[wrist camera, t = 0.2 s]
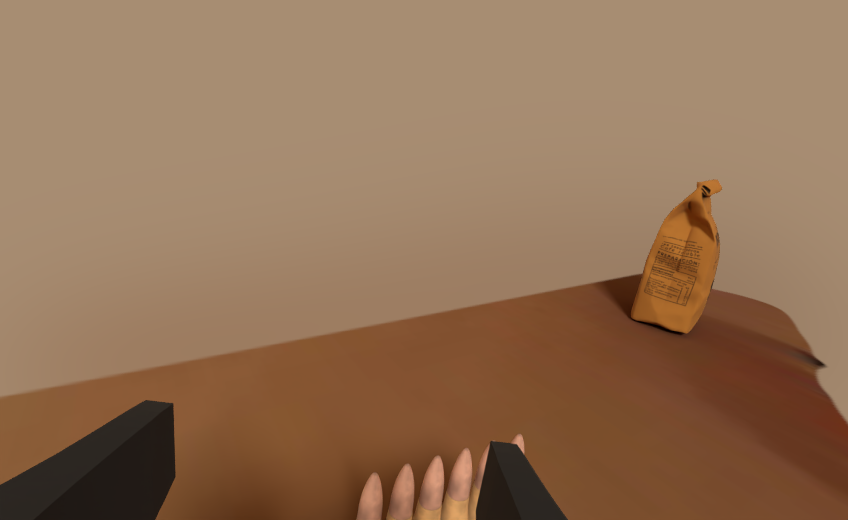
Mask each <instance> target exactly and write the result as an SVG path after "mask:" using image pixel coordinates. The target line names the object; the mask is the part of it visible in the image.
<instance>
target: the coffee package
mask: <svg viewBox="0 0 848 520" xmlns="http://www.w3.org/2000/svg"><path fill="white" fill-rule="evenodd" d="M721 190H722V187H721V185H720V183H719V181H718V180H710V181H704V182H697V189H696V190H695V191H694V192H693V193H692V194H691V195H689V196H688V197H687V198H686V199H685V200H684V201H683V202H681V203H680V204H679V205H678V206H676V207H675V208H674V209H673V210H672V211H671V212H670V214H669V215H668V216H667V217H666V219H665V220H664V222H663V224H662V226H661V228H660V230H659V232H658V234H657V237H656V239H655V241H654V244H653V246H652V248H651V250H650V253H649V255H648V258H647V260H646V264H645V267H644V271H643V274H642V277H641V281H640V284H639V287H638V290H637V293H636V296H635V300H634V303H633V307H632V311H631V318H632V319H634V320H636V321H642V322H646V323H650V324H654V325H659V326H662V327H664V328H666V329H669V330H672V331H678V332H683V333H685V334H686V333H688V332H690V330H691V329H692V328H693V327H694V325H695V324H696V323H697V321H698V319H699V318H700V316H701V314H702V312H703V309H704V307H705V305H706V302H707V299H708V297H709V294H710V291H711V288H712V285H713V282H714V277H715V273H716V269H717V265H718V260H719V253H720V242H719V234H718V231H717V227H716V224H715V222H714V220H713V217H712V215H711V199H710V196H711V195H712V194H715V193H718V192H720V191H721Z"/></svg>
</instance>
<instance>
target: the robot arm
mask: <svg viewBox="0 0 848 520" xmlns="http://www.w3.org/2000/svg"><path fill="white" fill-rule="evenodd" d="M174 478H175V447H174V414H173V403H165V402H157V401H148V400H145V401H144V402H142V403H140V404H138V405H136V406H135V407H133V408H131V409H130V410H128V411H126V412H125V413H123V414H121V415H120V416H118V417H117V418H115V419H113V420H112V421H110V422H108V423H107V424H105V425H104V426H102V427H100V428H99V429H97V430H95V431H94V432H92V433H91V434H89V435H87V436H86V437H84V438H82V439H81V440H79V441H77V442H76V443H74V444H72V445H71V446H69V447H67V448H66V449H64V450H62V451H61V452H59V453H57V454H56V455H54V456H52V457H50V458H48V459H47V460H45V461H43V462H41V463H39V464H38V465H36V466H34V467H32V468H30V469H28V470H27V471H25V472H23V473H21V474H19V475H18V476H16V477H14V478H12V479H10V480H9V481H7V482H5V483H3V484H1V485H0V520H155V519H156V517H157V515H158V512H159V510H160V508H161V506H162V504H163V502H164V500H165V498H166V496H167V494H168V492H169V489H170V487H171V485H172V483H173V481H174ZM476 520H568V519H567V518H566V517H565V515H564V514H563V512H562V511H561V510H560V508H559V507H558V505H557V504H556V503H555V501H554V500H553V498H552V497H551V495H550V494H549V492H548V491H547V489H546V488H545V486H544V485H543V483H542V482H541V480H540V479H539V477H538V476H537V474H536V473H535V471H534V469H533V468H532V466H531V465H530V463H529V462H528V460H527V458H526V457H525V455H524V454H523V452H522V450H521V449H520V448H519V446H518V445H517V444H512V443H503V442H495V441H491V442H490V446H489V451H488V455H487V460H486V465H485V469H484V474H483V479H482V483H481V488H480V493H479V497H478V502H477V507H476Z"/></svg>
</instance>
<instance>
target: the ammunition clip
mask: <svg viewBox="0 0 848 520" xmlns="http://www.w3.org/2000/svg"><path fill="white" fill-rule="evenodd" d="M495 442H496V441H495ZM511 443H512V444H517V445H518V446H519V448H520V449H521V450H522V452H523V454H524V442H523V438H522V435H521V434H518V435H516V436H515V438H514V439H513V440H512V442H511ZM489 446H490V444H489V445H488V446H487V448H486V449H485V451H484V453H483V455H482V458H481V460H480V463H479V465H478V468H477V472H476V476H475V480H474V482H473V486H472V490H471V493H470V488H471V480H472V461H471V455H470V451H469V449H468V448H465V449H464V450H463V451H462V452H461V453H460V455H459V456H458V458H457V460H456V462H455V464H454V467H453V469H452V472H451V475H450V479H449V483H448V488H447V490H446V494H445V498H444V502H443V504H442V498H443V491H444V470H443V463H442V460H441V457H440V456H436V457H435V458H434V459H433V460H432V462H431V463H430V465H429V467H428V469H427V471H426V474H425V476H424V479H423V483H422V486H421V491H420V496H419V499H418V503H417V507H416V511H415V513H414V515H413V511H412V510H413V504H414V478H413V472H412V469H411V466H410V465H409V464H405V465H404V467H403V468H402V469H401V471H400V473H399V475H398V477H397V479H396V481H395V484H394V487H393V491H392V494H391V499H390V505H389V508H388V512H387V517H386V520H476V507H477V502H478V497H479V493H480V488H481V483H482V479H483V474H484V469H485V465H486V460H487V455H488V451H489ZM469 493H470V495H469ZM382 507H383V495H382V487H381V482H380V478H379V476H378V474H377V473H376V472H374V473H373V474H372V475H371V476H370V477H369V479H368V481H367V483H366V485H365V487H364V489H363V492H362V495H361V499H360V503H359V507H358V514H357V518H356V520H381V517H382ZM412 515H413V518H412Z"/></svg>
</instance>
